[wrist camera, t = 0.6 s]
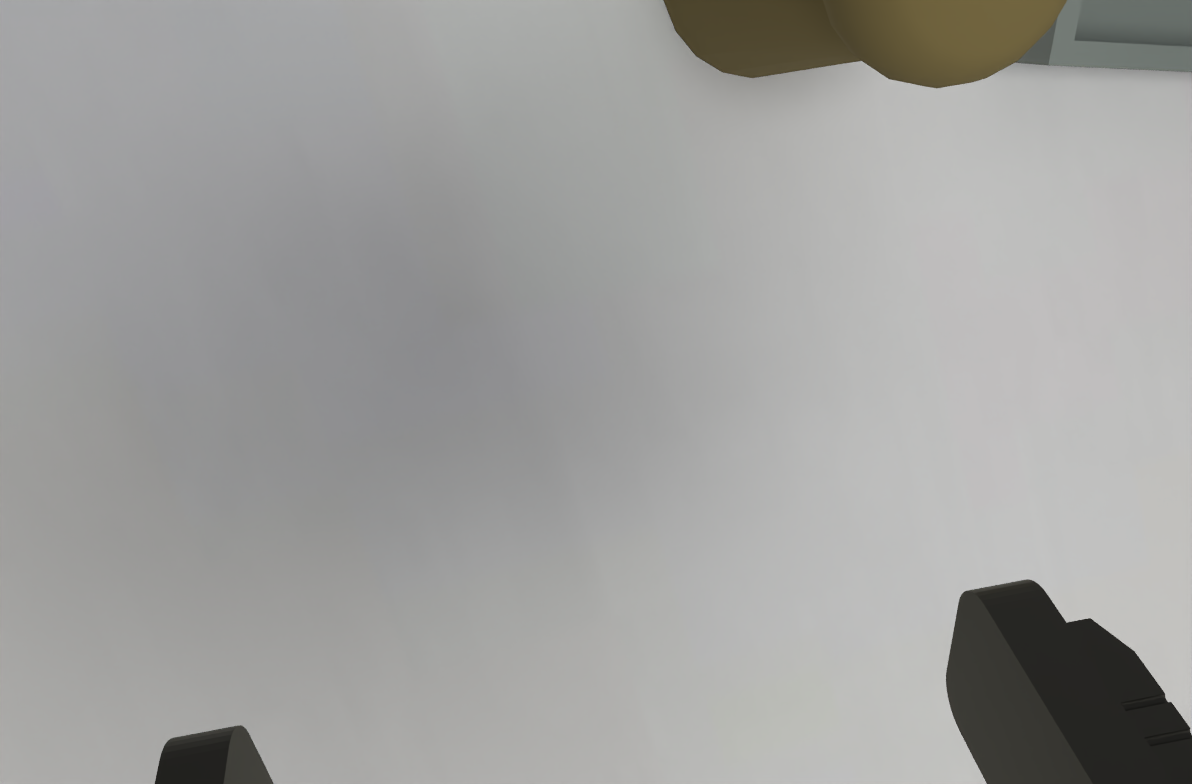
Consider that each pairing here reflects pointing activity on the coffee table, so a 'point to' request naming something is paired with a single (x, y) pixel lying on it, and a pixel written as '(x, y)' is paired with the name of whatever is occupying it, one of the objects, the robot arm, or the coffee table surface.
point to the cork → (865, 35)
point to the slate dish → (1118, 36)
